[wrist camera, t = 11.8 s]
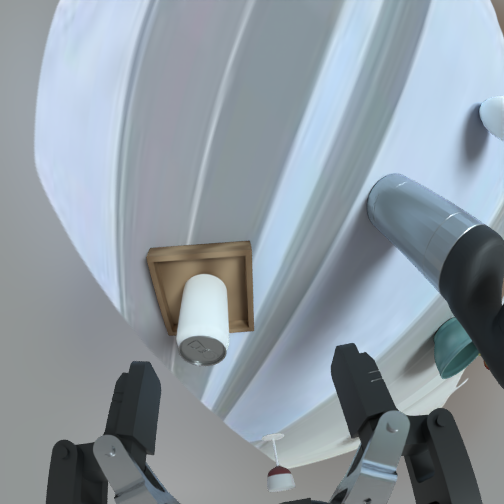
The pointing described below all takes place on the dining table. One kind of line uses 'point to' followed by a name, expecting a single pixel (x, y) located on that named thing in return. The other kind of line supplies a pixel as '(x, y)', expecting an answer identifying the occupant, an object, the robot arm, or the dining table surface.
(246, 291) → the tray
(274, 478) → the wineglass
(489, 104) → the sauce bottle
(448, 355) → the teal green bowl
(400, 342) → the dining table surface
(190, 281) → the can
